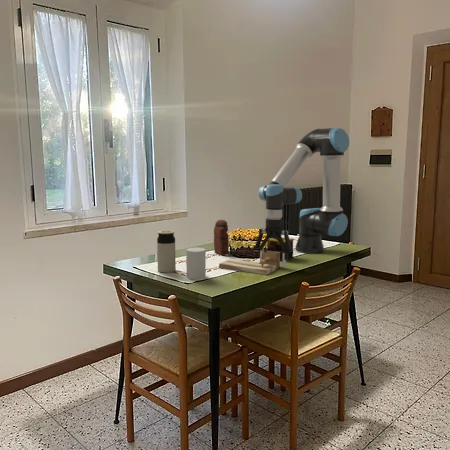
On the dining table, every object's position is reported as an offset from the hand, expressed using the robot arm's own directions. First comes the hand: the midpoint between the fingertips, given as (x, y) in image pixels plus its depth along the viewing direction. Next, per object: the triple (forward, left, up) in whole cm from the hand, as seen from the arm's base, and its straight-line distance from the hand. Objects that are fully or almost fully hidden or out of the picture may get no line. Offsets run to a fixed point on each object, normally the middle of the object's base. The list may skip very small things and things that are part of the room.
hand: (272, 265), depth 212 cm
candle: (-18, -4, -1) cm, 19 cm away
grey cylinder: (+32, -22, -1) cm, 39 cm away
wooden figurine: (-13, -35, -1) cm, 37 cm away
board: (+8, -9, -1) cm, 12 cm away
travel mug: (+30, -39, -1) cm, 49 cm away
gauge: (+4, -1, -1) cm, 5 cm away
